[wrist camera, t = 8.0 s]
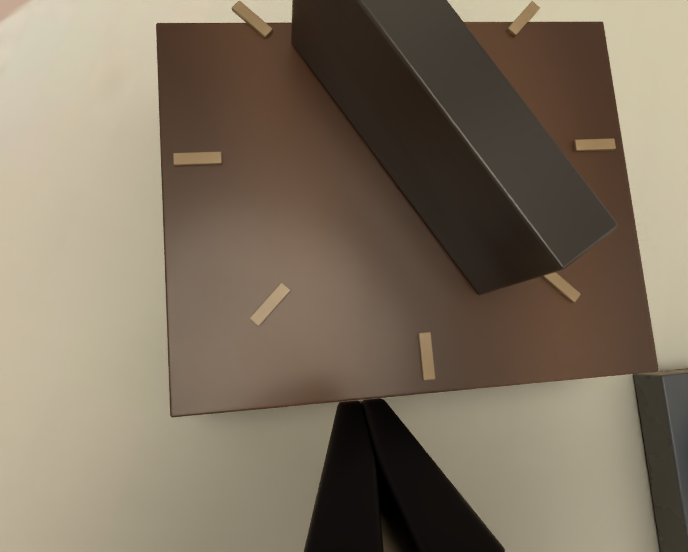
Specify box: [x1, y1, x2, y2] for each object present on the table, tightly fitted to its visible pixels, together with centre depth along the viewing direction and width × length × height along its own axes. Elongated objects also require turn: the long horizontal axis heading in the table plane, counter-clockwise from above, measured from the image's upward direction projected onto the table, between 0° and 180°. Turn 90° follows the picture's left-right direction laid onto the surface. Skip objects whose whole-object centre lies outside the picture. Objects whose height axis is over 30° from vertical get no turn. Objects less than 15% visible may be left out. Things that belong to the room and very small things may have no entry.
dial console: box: [156, 1, 658, 417], centre depth 19 cm, size 15×15×5 cm
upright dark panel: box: [291, 0, 618, 295], centre depth 14 cm, size 10×2×5 cm, turn 36°
